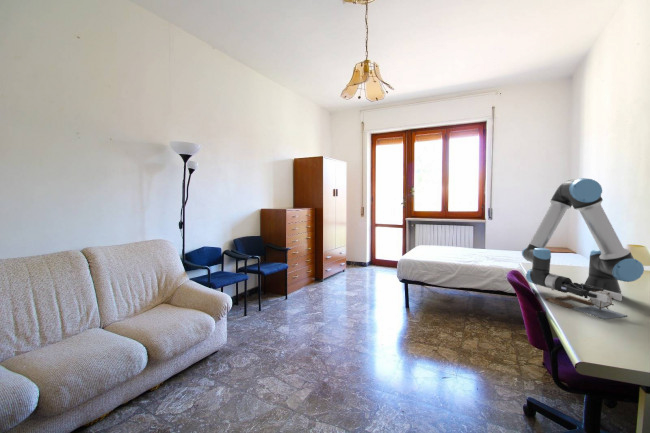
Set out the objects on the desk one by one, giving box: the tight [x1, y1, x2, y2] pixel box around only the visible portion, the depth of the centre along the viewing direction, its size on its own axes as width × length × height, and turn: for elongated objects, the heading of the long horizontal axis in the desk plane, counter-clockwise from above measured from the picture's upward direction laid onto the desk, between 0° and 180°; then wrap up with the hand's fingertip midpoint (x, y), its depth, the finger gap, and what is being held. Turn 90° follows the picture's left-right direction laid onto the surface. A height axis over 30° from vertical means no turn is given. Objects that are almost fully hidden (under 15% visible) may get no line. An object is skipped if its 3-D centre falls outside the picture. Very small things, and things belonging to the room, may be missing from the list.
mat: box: [573, 305, 628, 320], centre depth 133 cm, size 14×12×1 cm
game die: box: [588, 289, 615, 310], centre depth 132 cm, size 9×8×10 cm
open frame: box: [545, 294, 593, 309], centre depth 145 cm, size 16×11×2 cm
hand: (613, 298), depth 128 cm, fingers closed on game die, 8 cm apart
